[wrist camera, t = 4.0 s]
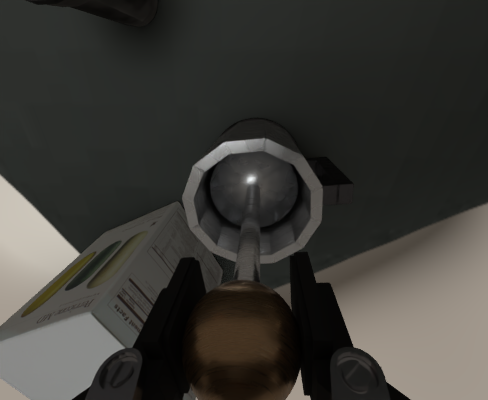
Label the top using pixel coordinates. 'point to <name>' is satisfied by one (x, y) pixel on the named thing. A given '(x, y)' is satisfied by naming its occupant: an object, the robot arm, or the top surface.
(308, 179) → the carafe
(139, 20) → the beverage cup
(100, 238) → the supplement box
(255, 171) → the plunger
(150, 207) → the top surface
